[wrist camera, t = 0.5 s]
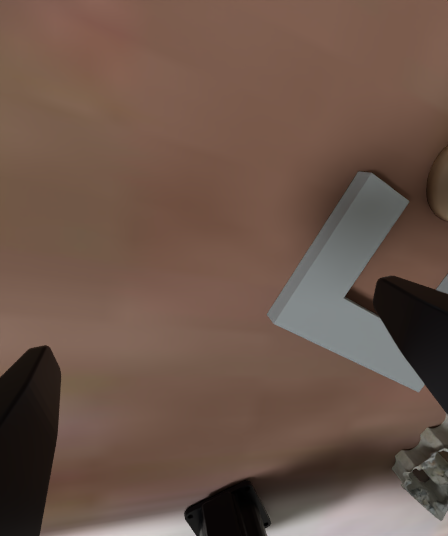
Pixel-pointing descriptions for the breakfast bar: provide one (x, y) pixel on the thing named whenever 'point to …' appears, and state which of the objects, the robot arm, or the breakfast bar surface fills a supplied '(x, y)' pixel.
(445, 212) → the bobbin
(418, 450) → the egg carton
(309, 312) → the notched board
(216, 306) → the breakfast bar surface
